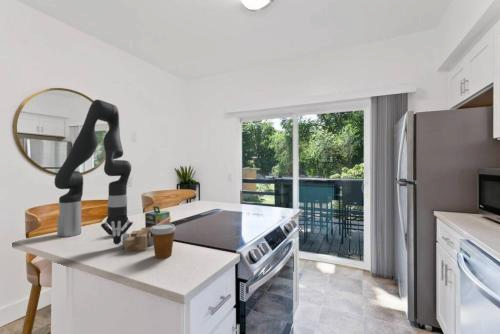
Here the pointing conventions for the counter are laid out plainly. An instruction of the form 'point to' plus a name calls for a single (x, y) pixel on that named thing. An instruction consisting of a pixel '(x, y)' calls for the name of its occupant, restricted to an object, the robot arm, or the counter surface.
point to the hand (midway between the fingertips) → (117, 243)
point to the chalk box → (155, 217)
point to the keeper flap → (161, 223)
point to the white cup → (124, 228)
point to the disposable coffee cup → (163, 239)
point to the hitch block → (137, 240)
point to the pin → (149, 239)
